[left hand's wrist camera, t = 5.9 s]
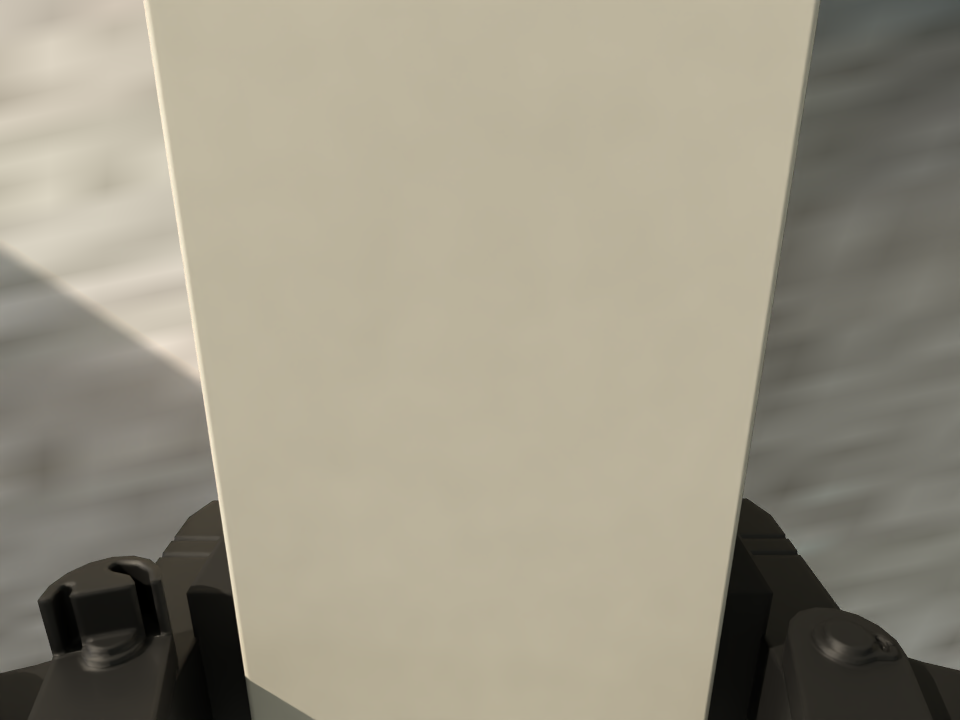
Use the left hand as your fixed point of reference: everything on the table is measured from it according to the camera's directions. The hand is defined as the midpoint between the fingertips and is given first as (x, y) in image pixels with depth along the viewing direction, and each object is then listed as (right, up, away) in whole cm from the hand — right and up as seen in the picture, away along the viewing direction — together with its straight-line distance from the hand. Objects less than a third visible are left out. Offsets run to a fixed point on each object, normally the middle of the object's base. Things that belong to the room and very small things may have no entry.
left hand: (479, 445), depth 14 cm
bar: (0, +26, -9) cm, 27 cm away
